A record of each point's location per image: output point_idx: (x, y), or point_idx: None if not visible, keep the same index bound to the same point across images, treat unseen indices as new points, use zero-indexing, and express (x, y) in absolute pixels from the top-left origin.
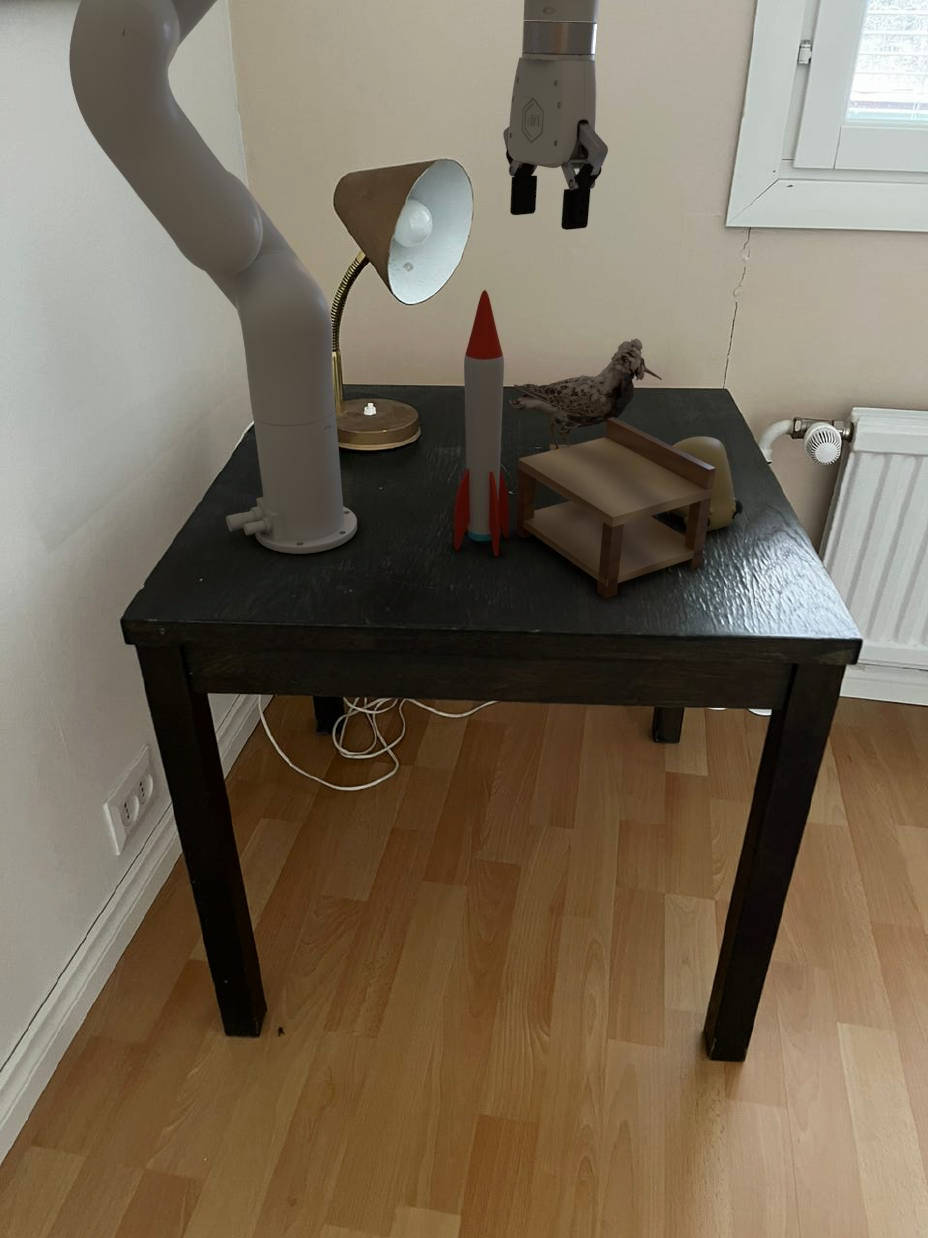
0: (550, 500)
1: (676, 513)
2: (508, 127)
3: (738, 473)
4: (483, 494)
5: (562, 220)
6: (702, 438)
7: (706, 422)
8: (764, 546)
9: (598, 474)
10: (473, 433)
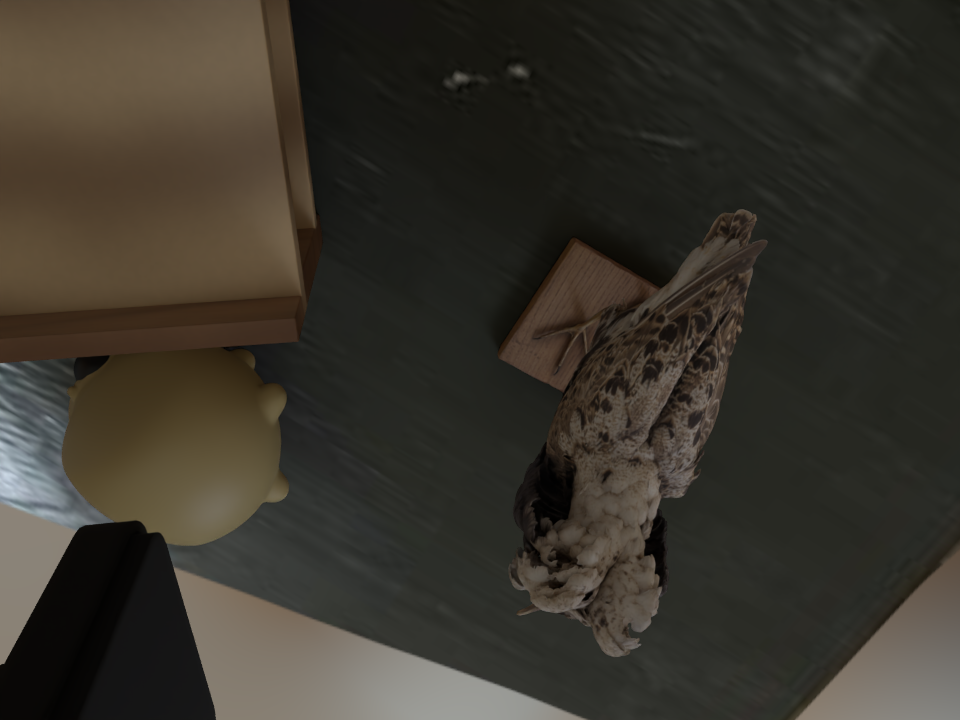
0: (425, 143)
1: None
2: None
3: (352, 586)
4: None
5: (95, 564)
6: (155, 502)
7: (607, 671)
8: (14, 437)
9: (32, 111)
10: None
